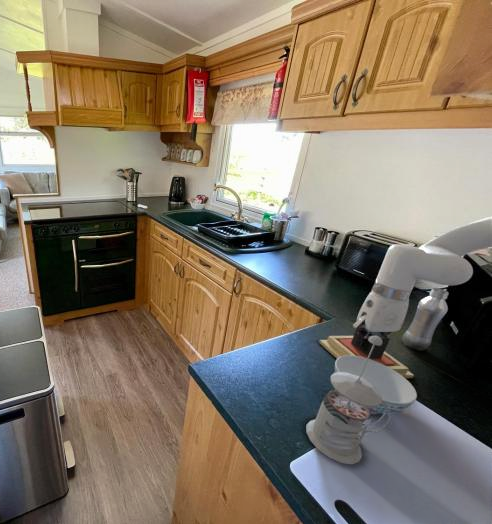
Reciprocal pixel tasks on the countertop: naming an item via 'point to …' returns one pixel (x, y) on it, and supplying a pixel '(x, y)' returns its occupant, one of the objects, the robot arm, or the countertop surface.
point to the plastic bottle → (426, 320)
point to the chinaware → (380, 382)
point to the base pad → (340, 350)
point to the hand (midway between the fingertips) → (366, 347)
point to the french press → (350, 405)
